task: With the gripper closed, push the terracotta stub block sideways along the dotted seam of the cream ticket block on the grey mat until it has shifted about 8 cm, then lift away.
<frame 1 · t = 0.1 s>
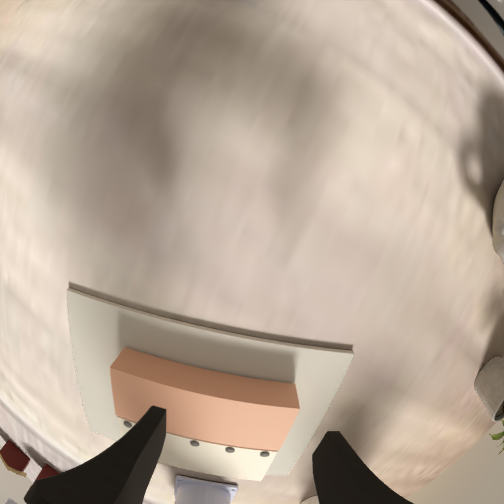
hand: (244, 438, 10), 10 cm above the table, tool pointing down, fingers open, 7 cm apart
stub: (201, 405, 19), point 2 cm above the table, slide at 0.0 cm
mat: (190, 410, 22), on the table
house plant: (492, 363, 21), on the table
teacup: (499, 217, 18), on the table
toy houses: (86, 495, 31), on the table
ticket book: (198, 431, 22), resting on mat
cylindrical container: (322, 500, 27), on the table
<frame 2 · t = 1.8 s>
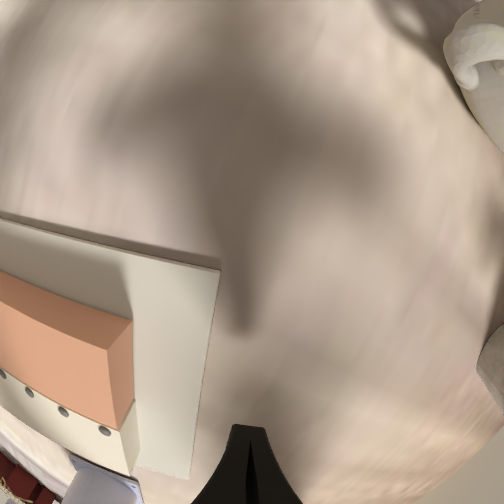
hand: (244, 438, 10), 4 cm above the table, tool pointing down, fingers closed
stub: (28, 336, 12), point 2 cm above the table, slide at 0.0 cm
mat: (44, 356, 14), on the table
house plant: (502, 334, 14), on the table
teacup: (472, 90, 10), on the table
toy houses: (29, 480, 24), on the table
ticket book: (60, 390, 15), resting on mat
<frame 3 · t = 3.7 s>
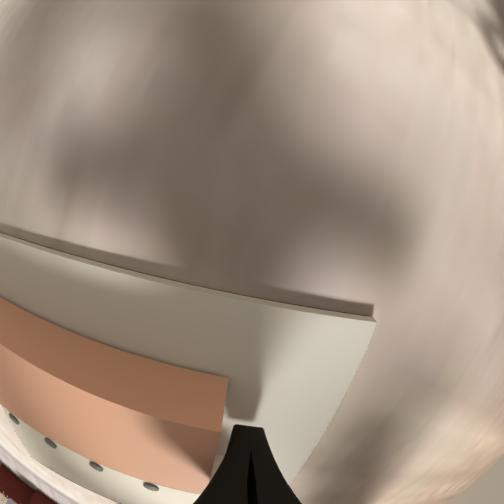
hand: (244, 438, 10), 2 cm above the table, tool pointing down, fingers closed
stub: (69, 396, 9), point 2 cm above the table, slide at 1.3 cm, touching gripper
mat: (101, 414, 12), on the table
toy houses: (49, 503, 22), on the table
ticket book: (122, 446, 13), resting on mat
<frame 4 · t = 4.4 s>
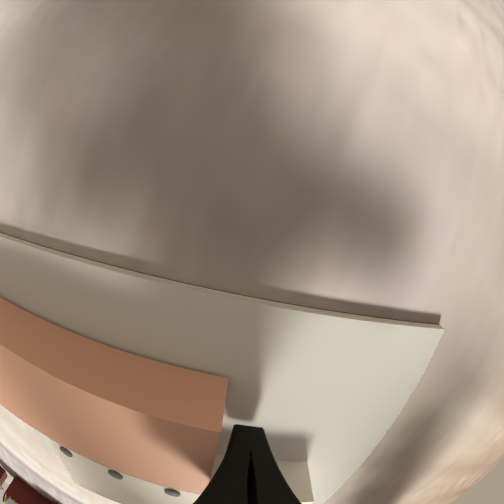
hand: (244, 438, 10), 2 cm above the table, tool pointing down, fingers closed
stub: (69, 396, 9), point 2 cm above the table, slide at 5.4 cm, touching gripper
mat: (167, 436, 12), on the table
ticket book: (182, 464, 13), resting on mat
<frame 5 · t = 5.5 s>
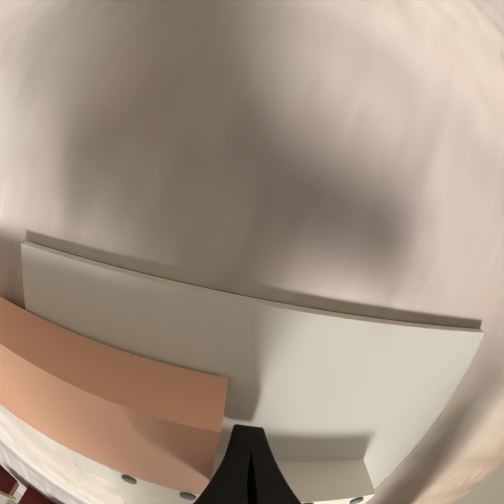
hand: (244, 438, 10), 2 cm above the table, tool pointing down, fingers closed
stub: (69, 396, 9), point 2 cm above the table, slide at 9.2 cm, touching gripper
mat: (233, 449, 12), on the table
ticket book: (241, 474, 13), resting on mat
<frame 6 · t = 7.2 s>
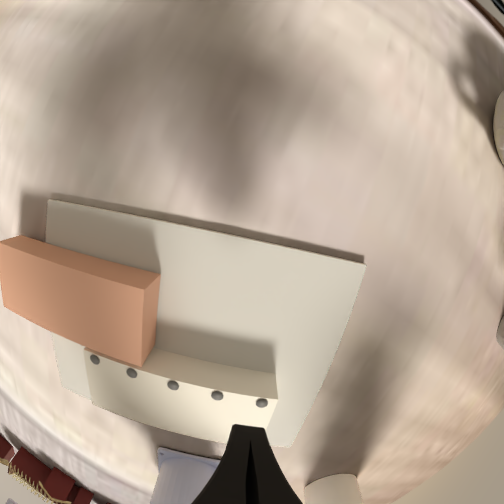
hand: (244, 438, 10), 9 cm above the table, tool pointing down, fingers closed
stub: (66, 293, 16), point 2 cm above the table, slide at 9.2 cm
mat: (172, 348, 19), on the table
teacup: (501, 141, 15), on the table
toy houses: (65, 484, 30), on the table
ticket book: (182, 380, 20), resting on mat
cylindrical container: (330, 484, 25), on the table
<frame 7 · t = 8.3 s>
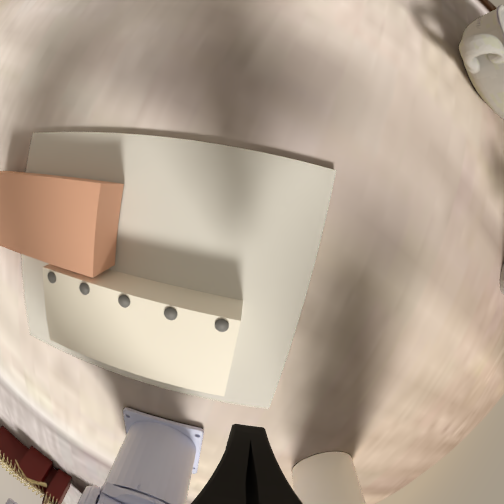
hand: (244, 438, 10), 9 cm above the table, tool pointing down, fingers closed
stub: (35, 212, 15), point 2 cm above the table, slide at 9.2 cm
mat: (133, 272, 18), on the table
teacup: (475, 75, 14), on the table
toy houses: (46, 468, 29), on the table
ticket book: (143, 313, 19), resting on mat
cylindrical container: (321, 466, 23), on the table
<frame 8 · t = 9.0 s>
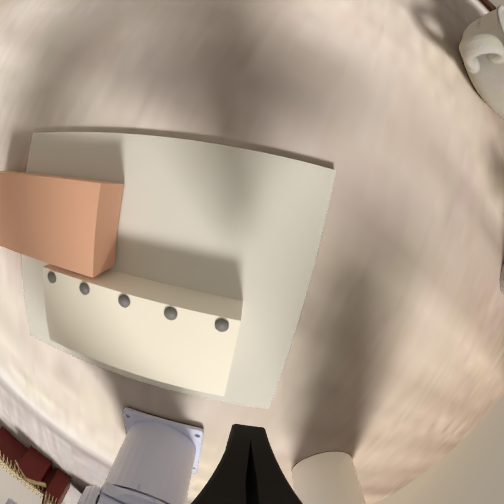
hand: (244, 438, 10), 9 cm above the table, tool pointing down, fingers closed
stub: (35, 212, 15), point 2 cm above the table, slide at 9.2 cm
mat: (133, 272, 18), on the table
teacup: (475, 75, 14), on the table
toy houses: (46, 468, 29), on the table
ticket book: (143, 313, 19), resting on mat
cylindrical container: (321, 466, 23), on the table
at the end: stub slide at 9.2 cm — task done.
